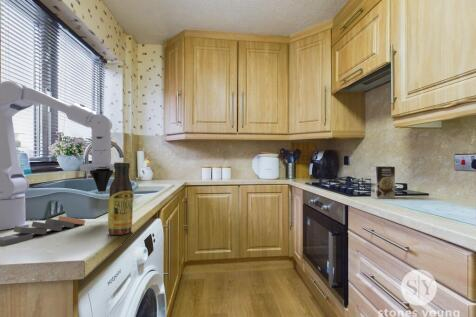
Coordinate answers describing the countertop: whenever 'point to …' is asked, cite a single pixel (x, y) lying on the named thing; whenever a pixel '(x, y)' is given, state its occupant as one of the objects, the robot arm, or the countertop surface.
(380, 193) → the coffee box
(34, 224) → the domino
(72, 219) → the domino
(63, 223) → the domino
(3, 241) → the domino
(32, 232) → the domino
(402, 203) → the countertop surface
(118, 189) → the sauce bottle
